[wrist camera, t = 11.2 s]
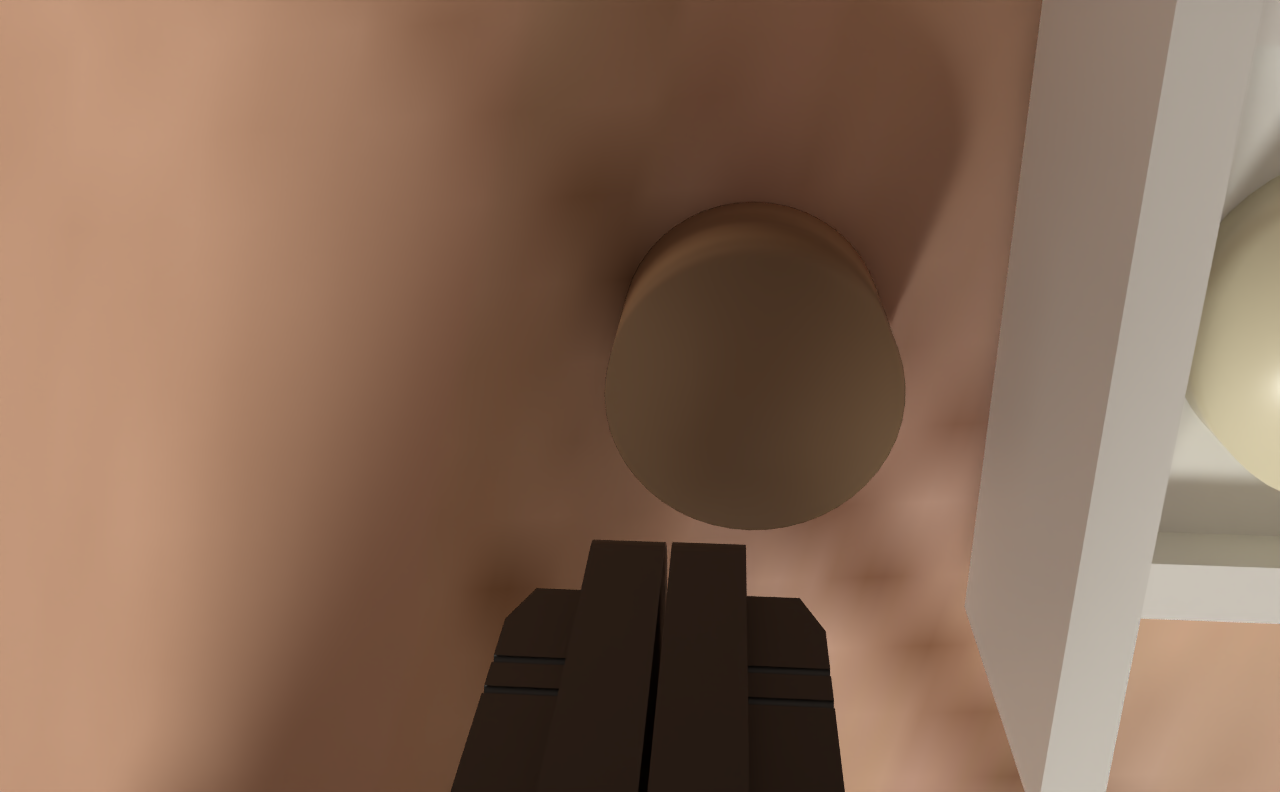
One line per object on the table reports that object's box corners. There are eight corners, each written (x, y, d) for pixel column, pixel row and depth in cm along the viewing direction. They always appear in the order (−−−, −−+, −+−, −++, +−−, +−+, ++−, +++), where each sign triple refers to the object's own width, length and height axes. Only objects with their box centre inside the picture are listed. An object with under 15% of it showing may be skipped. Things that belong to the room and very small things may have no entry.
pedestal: (623, 440, 24) (606, 525, 20) (621, 200, 22) (602, 252, 18) (870, 447, 23) (892, 535, 20) (891, 204, 21) (918, 257, 18)
